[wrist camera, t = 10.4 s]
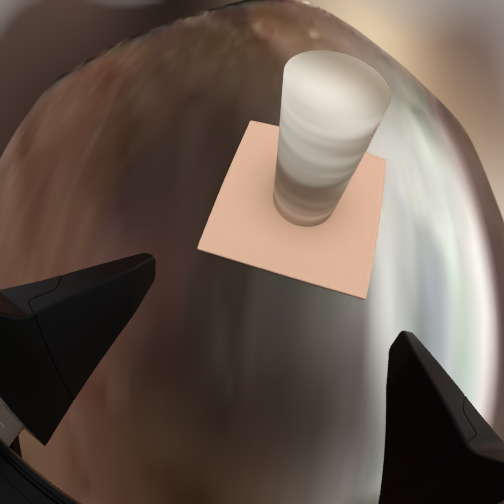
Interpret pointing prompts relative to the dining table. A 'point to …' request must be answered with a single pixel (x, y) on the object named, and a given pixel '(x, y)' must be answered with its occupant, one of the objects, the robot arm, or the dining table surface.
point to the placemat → (288, 234)
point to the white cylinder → (324, 131)
